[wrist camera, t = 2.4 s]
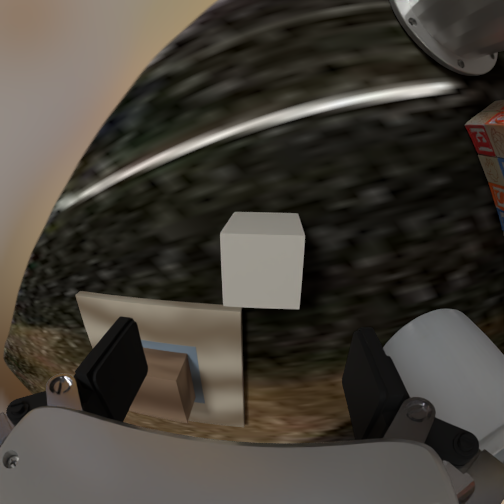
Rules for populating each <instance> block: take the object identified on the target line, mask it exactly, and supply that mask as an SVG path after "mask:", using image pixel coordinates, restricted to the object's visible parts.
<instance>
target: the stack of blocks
mask: <svg viewBox="0 0 504 504" xmlns="http://www.w3.org/2000/svg"><path fill="white" fill-rule="evenodd" d="M465 127H466V129H467V131H468V133H469V135H470V137H471V140H472V142H473V144H474V146H475V148H476V151H477V153H478V157H479V160H480V162H481V165H482V168H483V170H484V173H485V175H486V178H487V180H488V183H489V187H490V190H491V193H492V196H493V200H494V203H495V206H496V207H497V211H498V215H499V219H500V222H501V226H502V230H503V234H504V100H498V101H494V102H493V103H492V104H490V105H489V106H488V107H486V108H485V109H484V110H483V111H482V112H480V113H478V114H477V115H476V116H474V117H473V118H472V119H471V120H469V121H468V122H467V123H466V124H465Z"/></svg>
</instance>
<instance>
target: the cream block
mask: <svg viewBox="0 0 504 504" xmlns="http://www.w3.org/2000/svg"><path fill="white" fill-rule="evenodd" d="M220 243H221V268H222V290H223V306H227V307H247V308H271V309H299V308H300V297H301V286H302V273H303V260H304V246H305V234H304V231H303V228H302V224H301V221H300V218H299V215H298V214H297V213H264V212H234V213H233V215H232V216H231V218H230V219H229V221H228V222H227V224H226V225H225V227H224V228H223V230H222V231H221V233H220Z"/></svg>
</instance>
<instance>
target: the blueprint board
mask: <svg viewBox="0 0 504 504" xmlns="http://www.w3.org/2000/svg"><path fill="white" fill-rule="evenodd" d="M76 299H77V302H78V306H79V309H80V312H81V315H82V318H83V322H84V325H85V328H86V331H87V333H88V336H89V339H90V342H91V345H92V347H93V348H94V347H95V346H96V344H97V343H98V342H99V341H100V340H101V338H102V337H103V336H104V335H105V333H106V332H107V331H108V330H109V329H110V327H111V326H112V325H113V324H114V323H115V321H116V320H117V319H118V318H119V317H121V316H122V317H130V318H133V320H134V321H135V322H136V323H137V325H138V329H139V334H140V338H141V342H142V346H143V347H144V348H150V349H157V350H163V351H170V352H178V353H186V354H187V355H188V361H189V366H190V371H191V377H192V382H193V387H194V392H195V397H196V398H195V401H194V404H193V407H192V410H191V414H190V417H189V420H188V421H195V422H202V423H209V424H217V425H226V426H236V427H244V423H245V415H244V379H243V337H242V307H227V306H223V305H217V304H202V303H188V302H176V301H164V300H154V299H143V298H134V297H125V296H116V295H107V294H99V293H91V292H84V291H80V292H79V293H77V294H76Z"/></svg>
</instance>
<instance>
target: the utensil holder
mask: <svg viewBox="0 0 504 504" xmlns="http://www.w3.org/2000/svg"><path fill="white" fill-rule="evenodd" d="M383 349H384V351H385V353H386V355H387V356H390V357H391V359H392V360H393V363H394V365H395V367H396V369H397V371H398V373H399V375H400V377H401V379H402V381H403V383H404V385H405V388H406V390H407V392H408V394H409V396H410V398H412V397H421V398H425V399H426V400H428V401H430V402H431V403H432V404H433V406H434V407H435V411H436V414H435V417H436V418H438V419H440V420H443V421H445V422H447V423H450V424H452V425H454V426H457V427H459V428H462V429H464V430H467V431H469V432H471V433H473V434H474V435H475V436H476V437H477V439H478V441H479V449H480V450H481V451H483V450H484V449H485V450H487V451H488V452H489V453H490V454H492V455H493V456H494V457H496V458H497V459H498V460H499V461H501V462H502V463H503V464H504V355H503V354H502V352H501V351H500V350H499V349H498V348H497V347H496V346H495V345H494V343H493V342H492V341H491V340H490V339H489V338H488V337H487V336H486V335H485V334H484V333H483V332H482V331H481V330H480V329H479V328H478V327H477V326H476V325H475V324H474V323H473V322H472V321H471V320H470V319H469V318H468V317H467V316H466V315H465V314H463V313H462V312H460V311H458V310H455V309H438V310H434V311H431V312H428V313H426V314H423V315H421V316H419V317H417V318H415V319H414V320H412V321H411V322H409V323H408V324H406V325H405V326H404V327H402V328H401V329H400V330H399V331H398V332H397V333H396V334H394V335H393V336H392V338H391V339H390V340H389V341H388V342H387V343H386V345H385V346H384V347H383Z"/></svg>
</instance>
